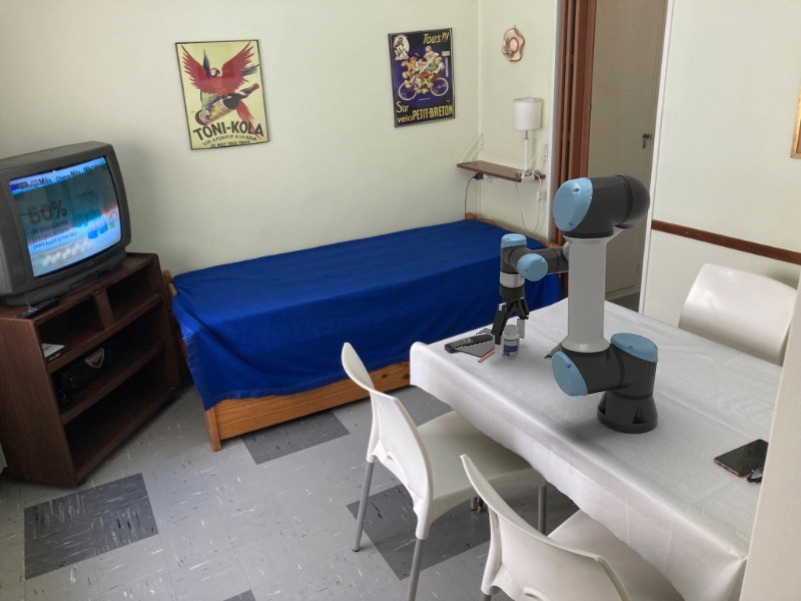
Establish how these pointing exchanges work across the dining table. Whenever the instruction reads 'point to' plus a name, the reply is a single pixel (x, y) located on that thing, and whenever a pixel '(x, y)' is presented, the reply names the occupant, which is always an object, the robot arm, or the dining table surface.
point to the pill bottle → (511, 342)
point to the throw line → (486, 356)
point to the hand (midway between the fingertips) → (509, 345)
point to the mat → (479, 346)
